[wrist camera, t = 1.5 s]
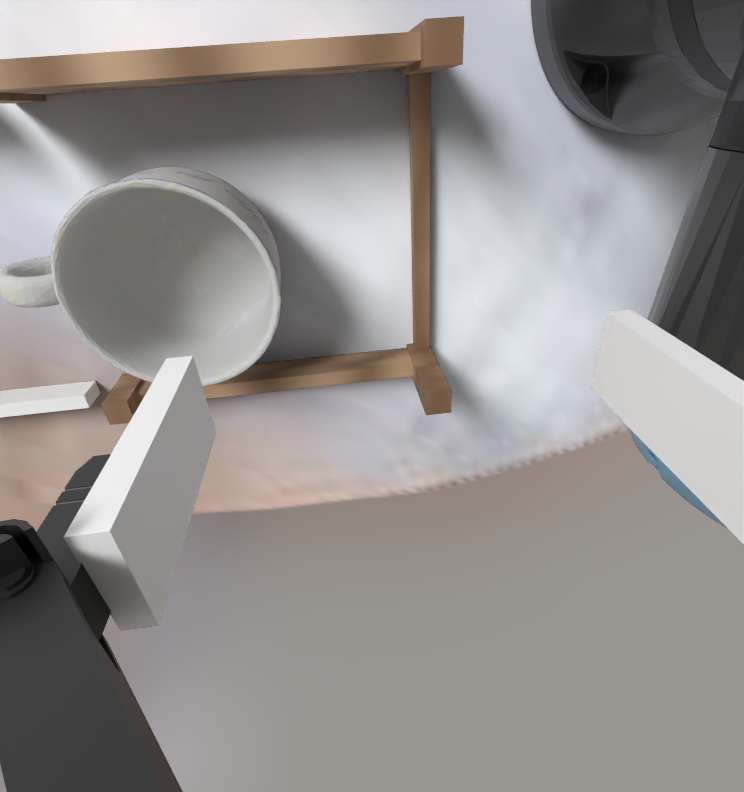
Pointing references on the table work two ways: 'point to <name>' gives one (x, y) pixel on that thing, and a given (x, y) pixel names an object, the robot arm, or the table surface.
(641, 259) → the table surface
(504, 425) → the table surface
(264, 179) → the table surface
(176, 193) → the teacup
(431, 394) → the wooden frame
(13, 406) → the holder
